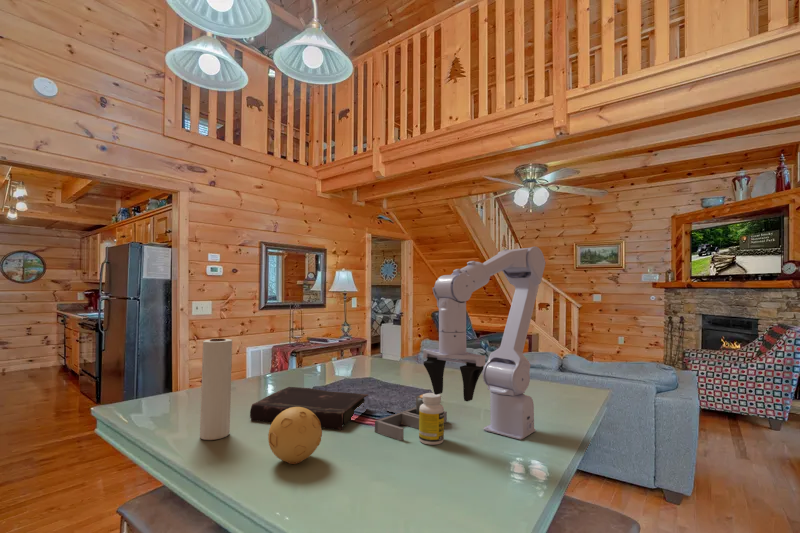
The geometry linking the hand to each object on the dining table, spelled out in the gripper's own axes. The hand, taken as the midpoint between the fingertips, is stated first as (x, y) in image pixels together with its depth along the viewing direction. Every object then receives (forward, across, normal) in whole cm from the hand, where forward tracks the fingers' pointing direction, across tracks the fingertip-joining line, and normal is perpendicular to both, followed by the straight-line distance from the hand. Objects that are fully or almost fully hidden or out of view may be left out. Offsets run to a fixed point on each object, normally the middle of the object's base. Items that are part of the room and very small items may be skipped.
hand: (452, 396), depth 83 cm
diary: (+11, -40, -7) cm, 42 cm away
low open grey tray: (+10, -19, +4) cm, 22 cm away
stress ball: (+11, -18, -26) cm, 34 cm away
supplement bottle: (+11, -6, 0) cm, 12 cm away
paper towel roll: (+11, -43, -30) cm, 54 cm away
